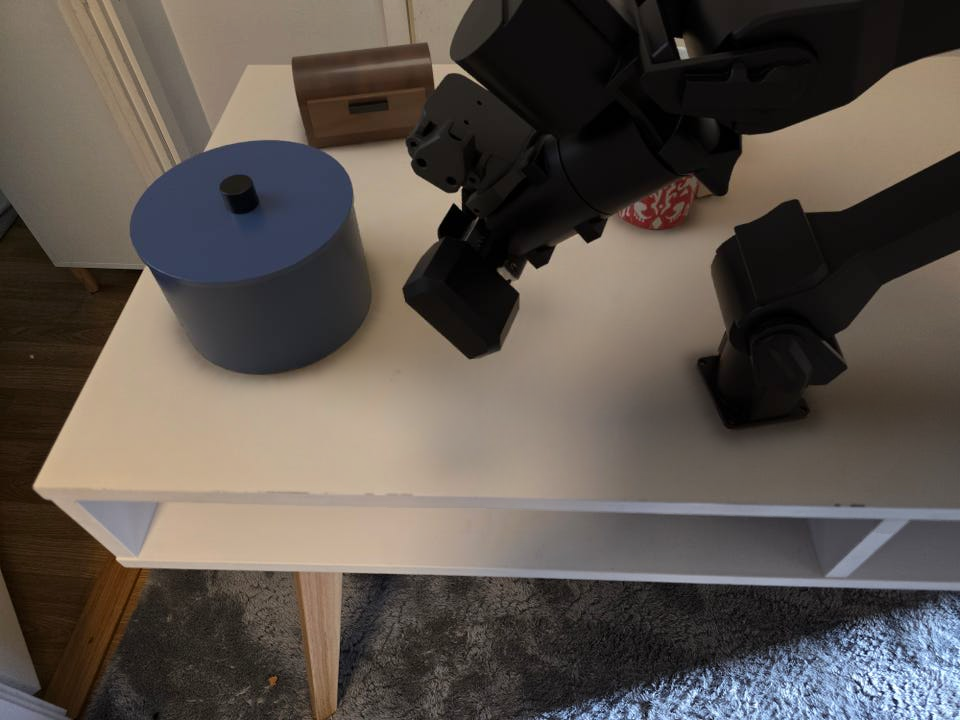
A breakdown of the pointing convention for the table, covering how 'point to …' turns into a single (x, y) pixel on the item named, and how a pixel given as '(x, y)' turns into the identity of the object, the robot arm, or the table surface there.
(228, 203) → the pot
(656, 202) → the mug
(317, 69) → the bread bin
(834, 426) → the table surface
